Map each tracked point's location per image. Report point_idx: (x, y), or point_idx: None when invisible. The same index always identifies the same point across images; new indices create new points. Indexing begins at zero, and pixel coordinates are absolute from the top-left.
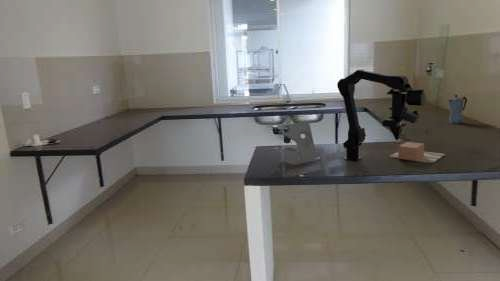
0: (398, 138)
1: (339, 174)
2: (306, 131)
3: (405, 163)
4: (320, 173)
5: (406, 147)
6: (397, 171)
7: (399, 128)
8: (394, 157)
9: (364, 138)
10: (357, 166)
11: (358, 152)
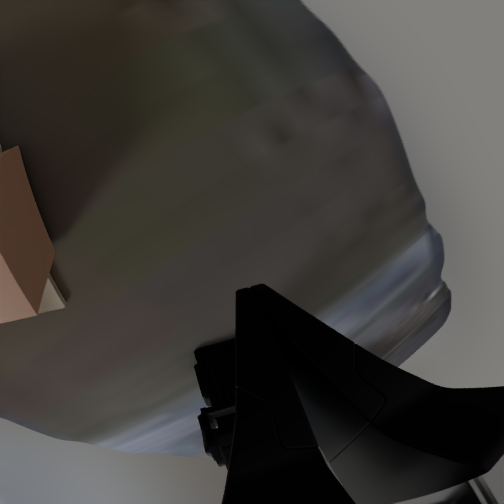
0: (263, 295)
1: (418, 249)
2: (328, 462)
3: (95, 159)
4: (417, 284)
5: (6, 258)
6: (307, 97)
7: (466, 388)
8: (52, 280)
9: (226, 434)
10: (319, 280)
11: (227, 372)
